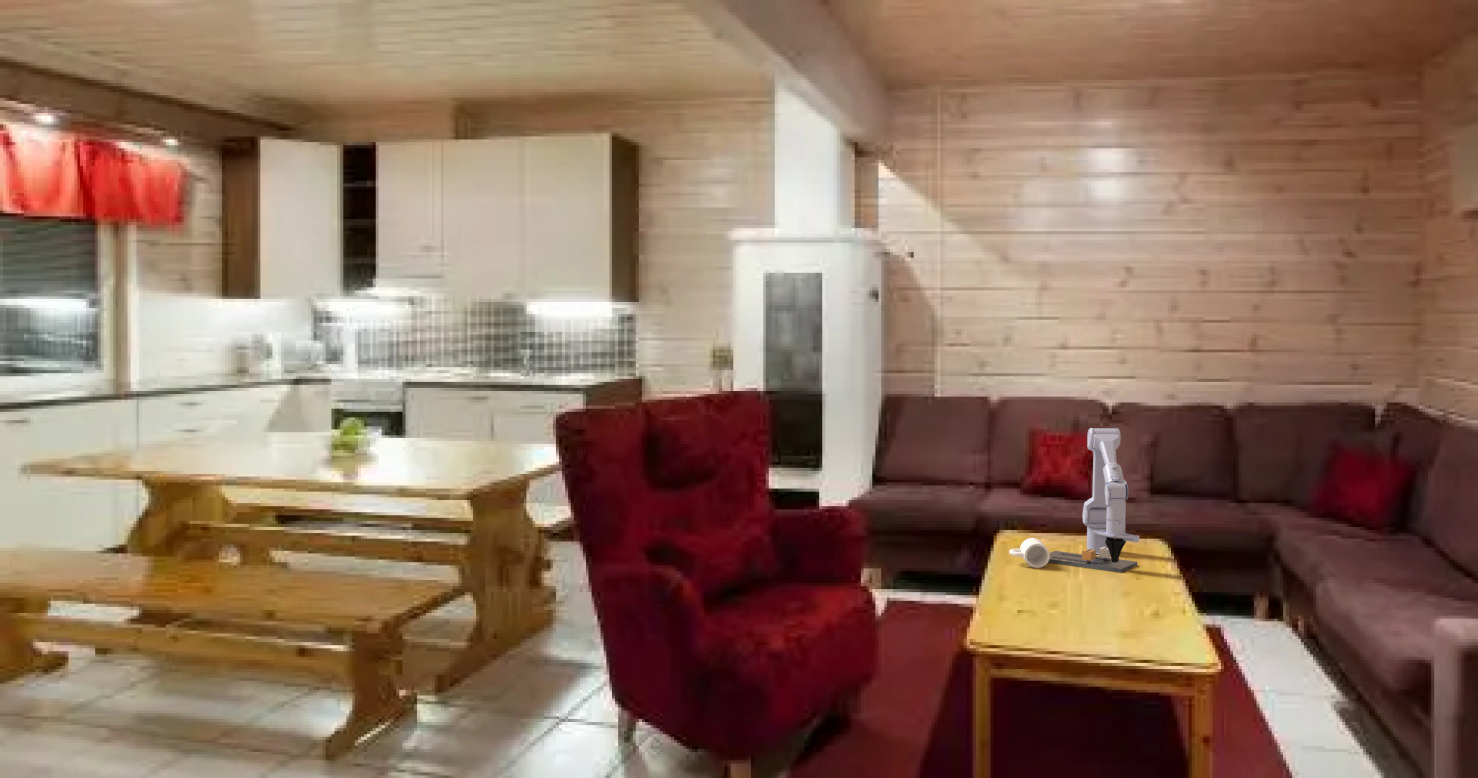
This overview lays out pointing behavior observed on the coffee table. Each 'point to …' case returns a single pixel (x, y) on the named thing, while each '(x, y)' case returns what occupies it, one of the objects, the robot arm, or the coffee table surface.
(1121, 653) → the coffee table surface
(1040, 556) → the mug
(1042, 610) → the coffee table surface
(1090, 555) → the orange fader
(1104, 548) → the cream fader
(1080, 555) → the mixer board
